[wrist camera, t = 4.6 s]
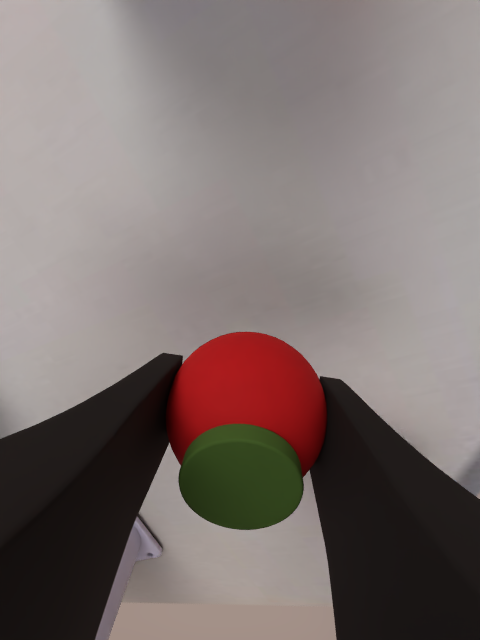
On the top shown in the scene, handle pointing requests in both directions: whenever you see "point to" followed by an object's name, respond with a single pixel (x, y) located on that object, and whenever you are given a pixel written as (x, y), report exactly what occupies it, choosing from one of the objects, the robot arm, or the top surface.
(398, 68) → the top surface
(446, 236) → the top surface
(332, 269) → the top surface
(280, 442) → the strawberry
